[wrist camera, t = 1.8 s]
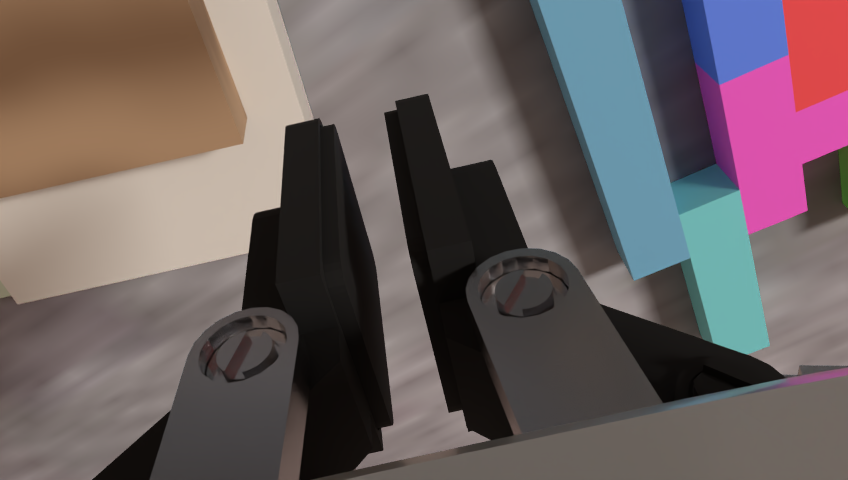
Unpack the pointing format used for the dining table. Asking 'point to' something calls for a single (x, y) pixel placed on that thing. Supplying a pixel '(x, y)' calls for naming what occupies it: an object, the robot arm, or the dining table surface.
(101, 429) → the dining table surface
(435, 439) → the dining table surface
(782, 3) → the tetris game
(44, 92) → the tile
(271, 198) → the board
